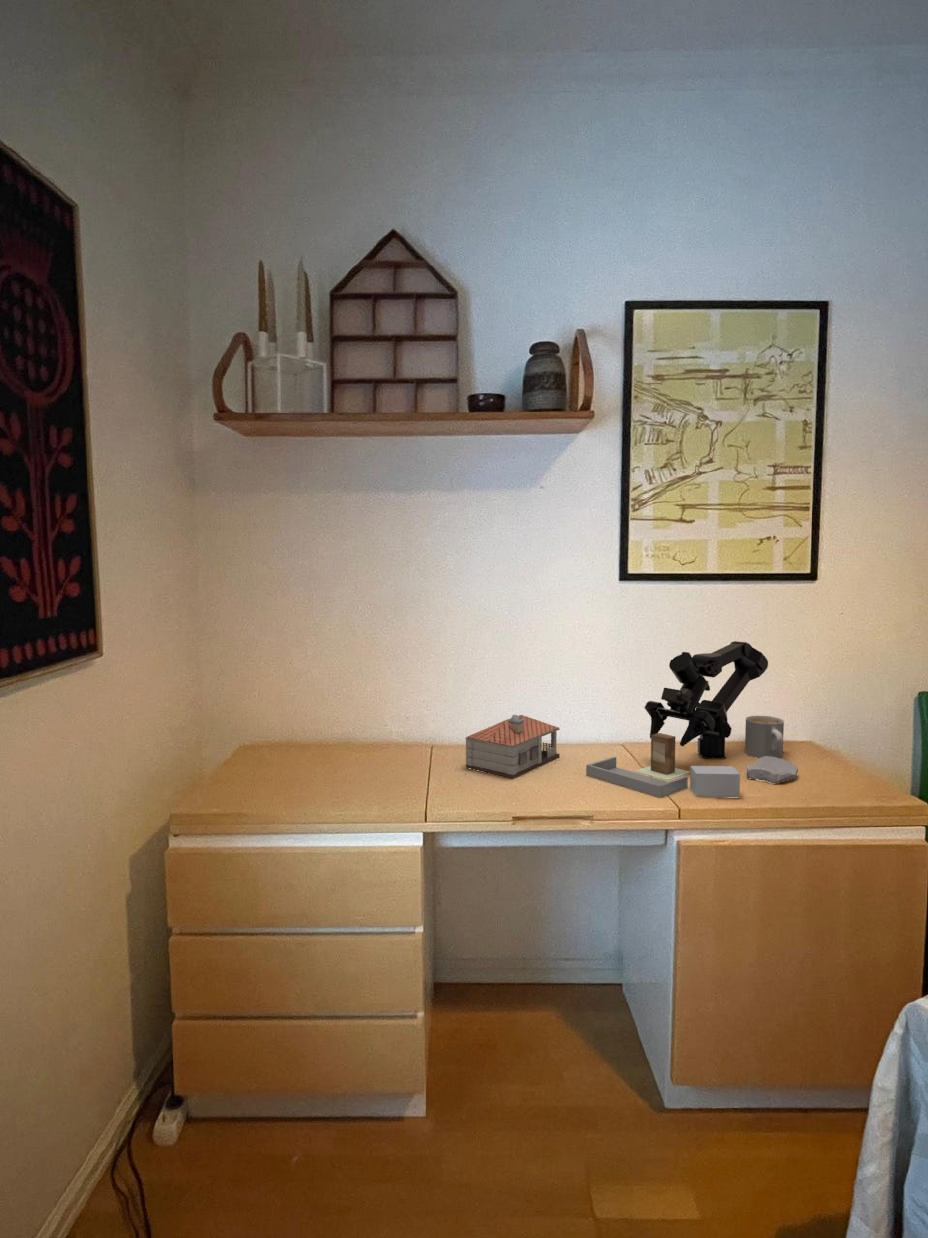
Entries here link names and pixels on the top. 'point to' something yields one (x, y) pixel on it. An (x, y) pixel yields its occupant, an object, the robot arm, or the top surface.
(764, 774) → the stone block
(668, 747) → the walnut box
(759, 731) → the coffee mug
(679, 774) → the pad
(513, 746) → the model house
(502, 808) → the top surface
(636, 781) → the parts tray
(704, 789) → the greyblue box
